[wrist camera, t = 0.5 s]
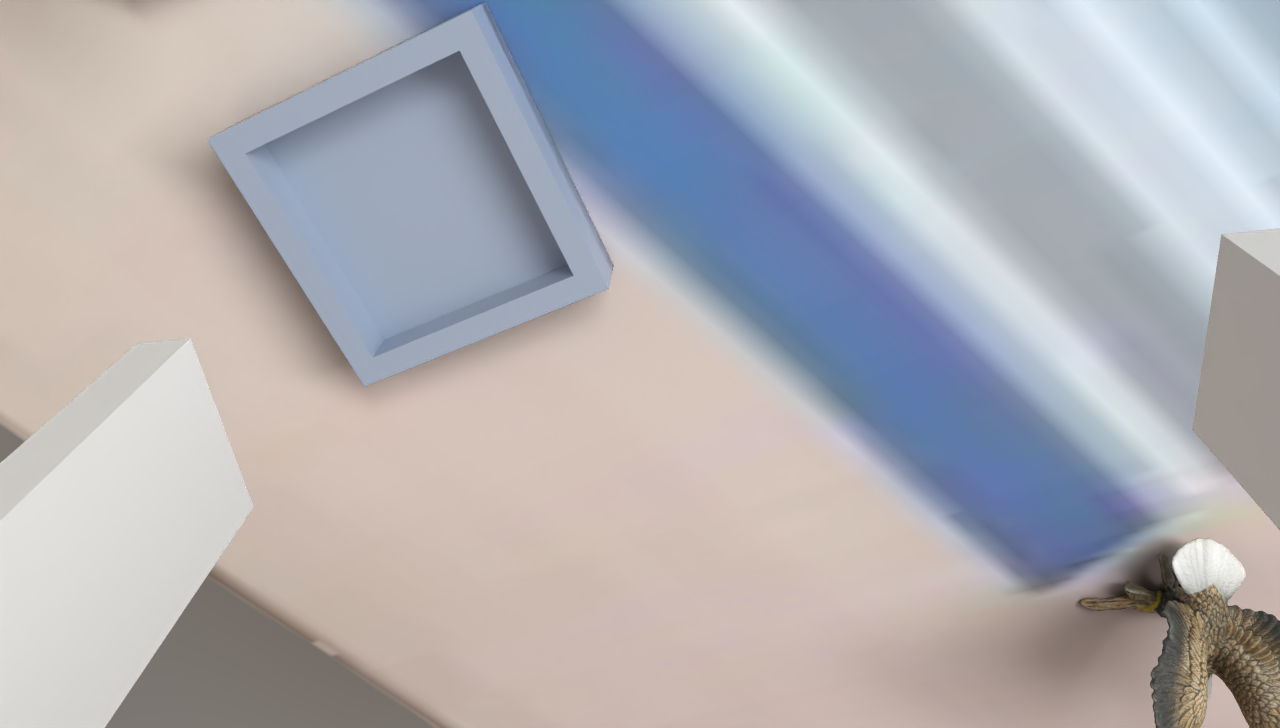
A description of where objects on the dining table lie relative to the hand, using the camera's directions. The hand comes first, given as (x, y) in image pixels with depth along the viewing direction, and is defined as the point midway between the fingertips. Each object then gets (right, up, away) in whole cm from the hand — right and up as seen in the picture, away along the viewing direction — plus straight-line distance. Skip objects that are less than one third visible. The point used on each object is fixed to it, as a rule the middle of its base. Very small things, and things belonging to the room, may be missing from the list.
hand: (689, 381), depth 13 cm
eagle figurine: (+24, -10, +33) cm, 42 cm away
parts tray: (-9, +7, +26) cm, 28 cm away
